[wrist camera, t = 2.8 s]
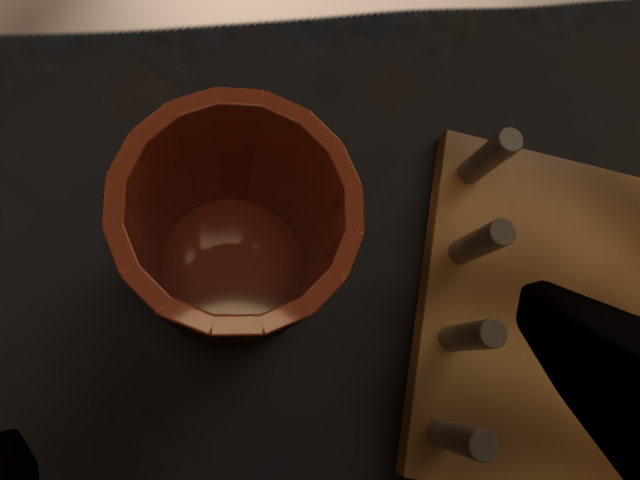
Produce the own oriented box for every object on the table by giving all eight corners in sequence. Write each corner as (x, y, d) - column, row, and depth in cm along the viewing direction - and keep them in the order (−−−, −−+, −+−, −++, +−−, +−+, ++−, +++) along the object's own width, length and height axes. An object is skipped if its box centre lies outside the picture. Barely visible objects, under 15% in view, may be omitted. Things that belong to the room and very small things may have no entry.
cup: (230, 383, 20) (236, 394, 12) (114, 266, 20) (42, 199, 12) (341, 268, 22) (413, 210, 14) (234, 161, 22) (240, 41, 14)
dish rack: (675, 518, 22) (787, 555, 18) (394, 472, 20) (441, 501, 16) (676, 197, 25) (769, 163, 21) (437, 138, 24) (485, 88, 20)
